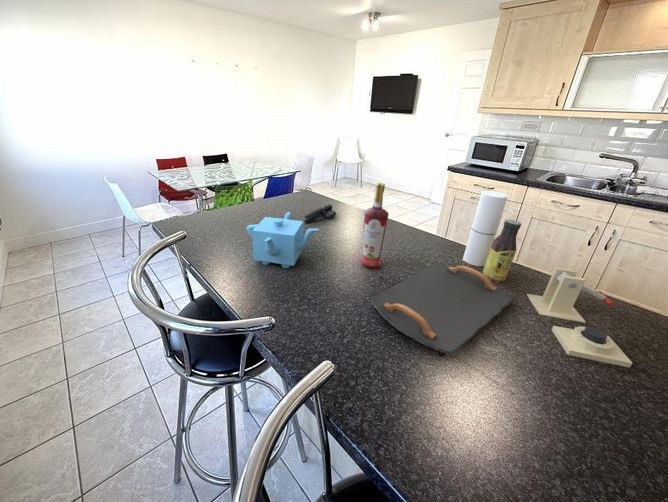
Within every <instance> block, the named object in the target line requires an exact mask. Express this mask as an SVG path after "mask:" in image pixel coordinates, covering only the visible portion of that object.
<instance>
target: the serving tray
mask: <svg viewBox="0 0 668 502" xmlns="http://www.w3.org/2000/svg"><path fill="white" fill-rule="evenodd" d="M513 300H514V299H513V297H512V296H511V295H510V294H509V293H508V292H506V291H504V290H503V289H502V288H500V287H498V286H497V285H496V284H494V283H493V282H491V281H490V280H489V278H488V277H487V276H485V275H484V274H483V272H482V271H478V270H477V269H474V268H472V267H470V266H466V265H458V266H451V265H447V264H443V263H434V264H432V265H430V266H428V267H426V268H425V269H422V270H421V271H419V272H416V273H415V274H413V275H411V276H409V277H408V278H406V279H403V280H402V281H400V282H398V283H396V284H394V285H393V286H391V287H389V288H387V289H385V290H383V291H381V292H380V293H378V294H376V295H374V296H373V297H371V299H370V302H371V304H372V306H373V309H374V311H375V312H376V313H378V314H379V315H380V316H381V317H382V318H383V319H384V320H385V321H387V322H388V323H389V324H390V325H391V326H392V327H393V328H394V329H396V330H397V331H399V332H400V333H402V334H403V335H405V336H406V337H409V338H411V339H412V340H414V341H416V342H417V343H419V344H421V345H423V346H425V347H428V348H431V349H432V350H435V351H436V353H437V356H438V357H441V358H444V357H446V356H447V355H453V354H455V353H456V352H458V351H459V350H460V349H461V348H462V347H463V346H464V345H465V344H467V343H468V342H469V341H470V340H471V339H472V338H474V337H475V336H476V334H477V333H479V331H480V330H482V329H484V328H485V327H486V326H487V325H489V324H490V322H491V321H492V320H493V319H494V318H496V317H497V316H500V314H501V312H502V310H505V308H506V307H508V306H509V305H510V304H511V303H512V302H513Z"/></svg>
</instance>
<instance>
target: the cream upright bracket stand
mask: <svg viewBox="0 0 668 502" xmlns="http://www.w3.org/2000/svg"><path fill="white" fill-rule="evenodd" d="M563 272H566V273H568V274H570V275H572V276H574V277H571V276H564V275H563V276H562V278H561V280H560V281H559V280H558V279H557V277H558V276H559V275H560V274H562V273H563ZM577 273H578V272H577V271H576V269H570V268H562V267H554V270H553V272H552V274H551V276H550V278H549V281H548V283H547V285H546V288H545V290H544V292H543V295H536V294H530V293H526V296H527V298H528V299H529V301H530V302H531V304H532V306H533V307H534V308H535V310H536V312H537V313H538V314H539V316H545V317H549V318H556V319H561V320H566V321H571V322H578V323H581V324H586V323H587V321H586V320H585V319H584V318H583V316H582V315H581V314H580V313H579V312H578V311H577V310H576V308H575V307H574V305H575V304H576V301H577V299H578V297H579V295H580V294H581V291H582V287H583V285H584V286H585V283H586V279H585V278H583V277H577V276H576V275H577Z"/></svg>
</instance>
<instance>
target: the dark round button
mask: <svg viewBox="0 0 668 502" xmlns="http://www.w3.org/2000/svg"><path fill="white" fill-rule="evenodd" d="M585 327H586V328H585V329H584V331H583V333H582V335H583V336H584V337H585V338H587V339H588V340H590V341H592V342H594V343H598V344H603V343H604V342H605V340H606V338H607V336H608V335H607V333H605V332H604V331H603V330H601V329H599V328H597V327H593V326H585Z"/></svg>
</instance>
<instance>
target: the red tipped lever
mask: <svg viewBox="0 0 668 502" xmlns="http://www.w3.org/2000/svg"><path fill="white" fill-rule="evenodd" d="M563 275H564V276H571V277H574V276H572V275H570V274H568V273H566V272H563V273H562V274H560V275H559V276H558V277H557V279H558V280H559V281H560V280H561V278H562V276H563ZM581 291H583V292H585V293H588V294H590V295H591V296H593V297H595V298H597V299H600V300H601V301H602V302H604V303H605V305H606V306H608V307H613V306H615V303H614V302H613V301H612V300H611V299H610V298H609V297H607V295H606V294H604V292H602V291H601V290H597V291H596V290H594V289H592V288H590V287H588V286H586V285H585V284H584V285H583V287H582V289H581Z"/></svg>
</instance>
